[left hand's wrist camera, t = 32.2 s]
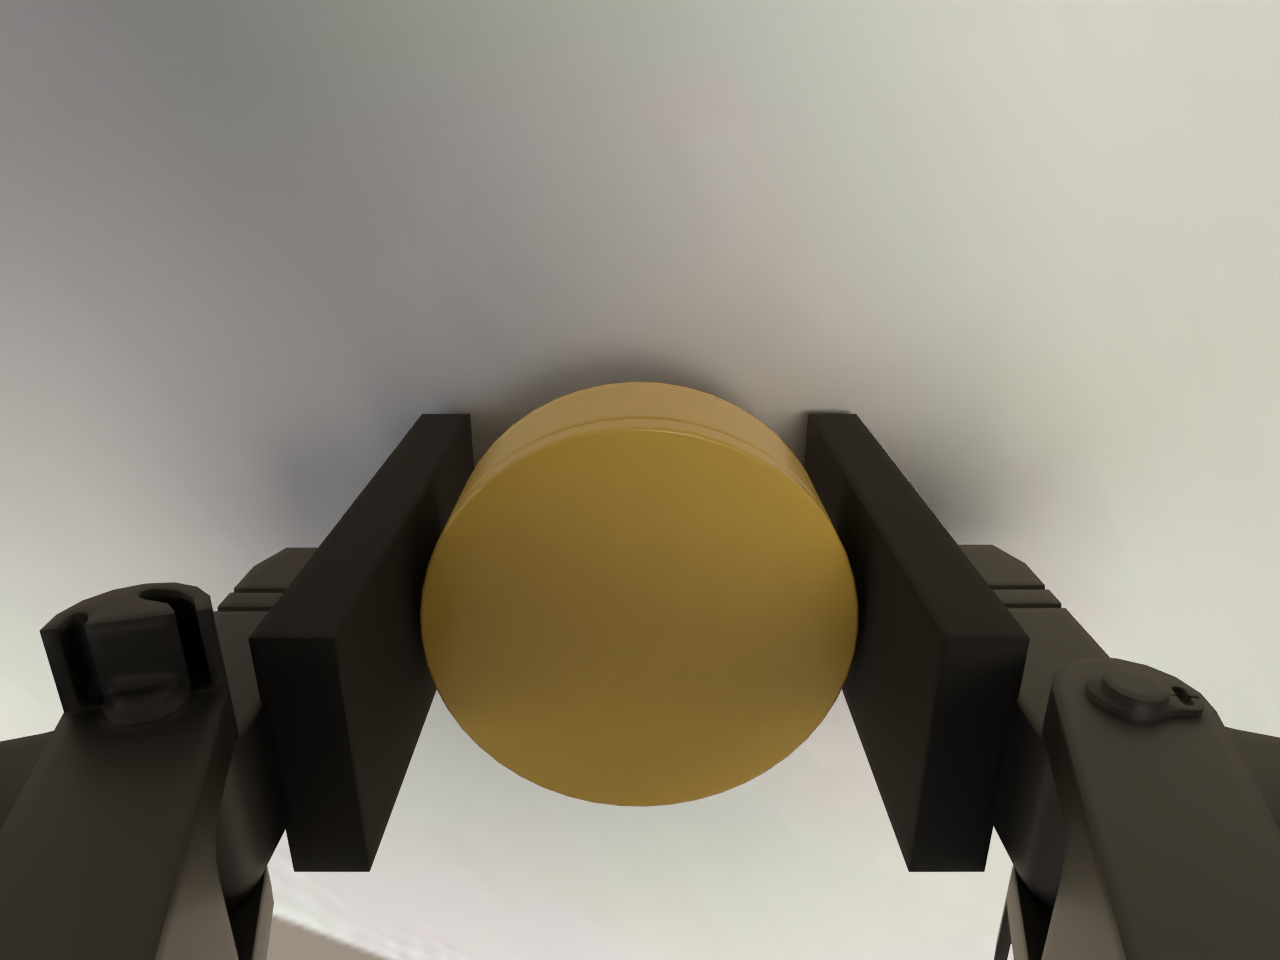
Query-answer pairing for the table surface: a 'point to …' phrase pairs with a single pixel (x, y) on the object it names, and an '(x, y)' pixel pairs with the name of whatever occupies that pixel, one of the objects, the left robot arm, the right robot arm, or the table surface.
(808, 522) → the lid
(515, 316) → the table surface
